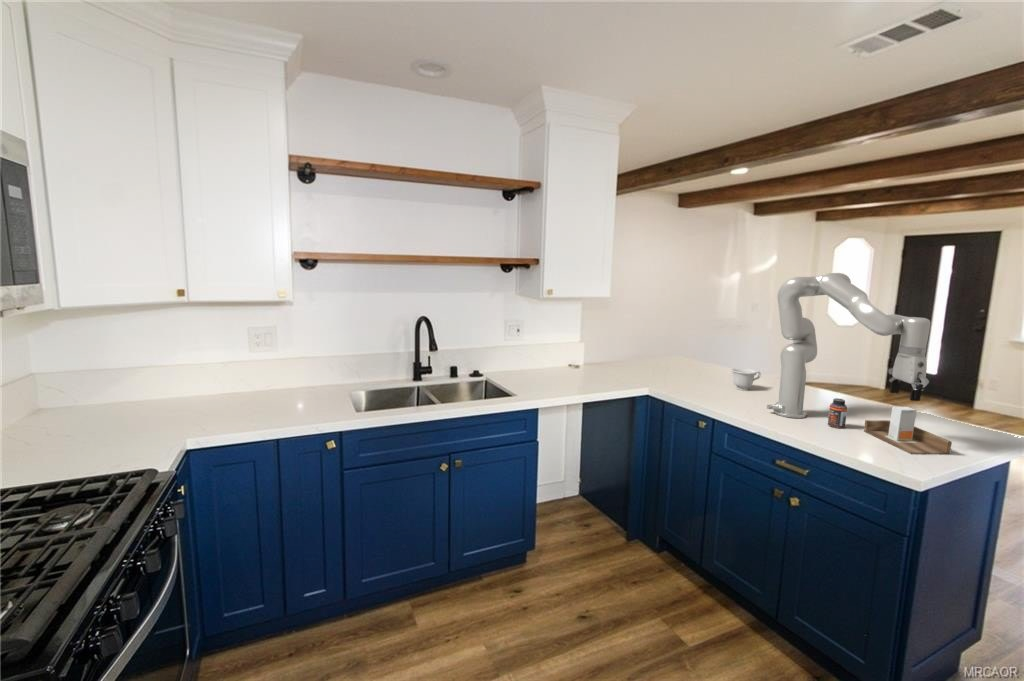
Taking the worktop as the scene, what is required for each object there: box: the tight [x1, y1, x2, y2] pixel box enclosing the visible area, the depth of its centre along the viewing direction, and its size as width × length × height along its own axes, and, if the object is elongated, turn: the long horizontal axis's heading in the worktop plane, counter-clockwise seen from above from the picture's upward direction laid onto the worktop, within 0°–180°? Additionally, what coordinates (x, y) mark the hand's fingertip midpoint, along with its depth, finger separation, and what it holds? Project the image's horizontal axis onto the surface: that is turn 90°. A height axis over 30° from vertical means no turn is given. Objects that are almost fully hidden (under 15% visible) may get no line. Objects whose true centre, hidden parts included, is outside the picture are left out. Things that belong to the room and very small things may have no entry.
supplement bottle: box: [827, 398, 848, 429], centre depth 195 cm, size 6×6×11 cm
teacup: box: [731, 367, 762, 391], centre depth 254 cm, size 12×15×10 cm
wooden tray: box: [863, 419, 953, 455], centre depth 178 cm, size 14×23×5 cm, turn 179°
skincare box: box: [888, 406, 917, 441], centre depth 179 cm, size 6×4×12 cm
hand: (904, 396), depth 178 cm, fingers open, 9 cm apart
